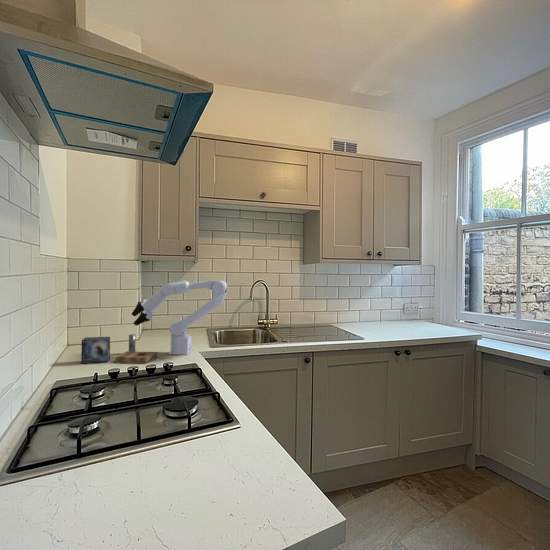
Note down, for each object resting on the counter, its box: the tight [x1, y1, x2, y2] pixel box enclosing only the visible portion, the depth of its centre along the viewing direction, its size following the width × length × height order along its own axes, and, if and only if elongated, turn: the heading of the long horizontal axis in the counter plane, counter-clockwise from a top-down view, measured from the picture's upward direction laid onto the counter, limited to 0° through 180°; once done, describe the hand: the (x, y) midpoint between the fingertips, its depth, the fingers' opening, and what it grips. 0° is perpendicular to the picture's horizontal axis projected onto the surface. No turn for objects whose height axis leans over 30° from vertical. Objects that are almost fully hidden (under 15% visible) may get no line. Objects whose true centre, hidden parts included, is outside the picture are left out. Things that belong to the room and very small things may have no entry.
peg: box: [128, 333, 137, 351], centre depth 169 cm, size 3×3×9 cm
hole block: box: [114, 350, 158, 364], centre depth 157 cm, size 14×11×2 cm
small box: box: [80, 336, 111, 365], centre depth 153 cm, size 11×6×10 cm, turn 105°
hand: (133, 319), depth 171 cm, fingers open, 7 cm apart
